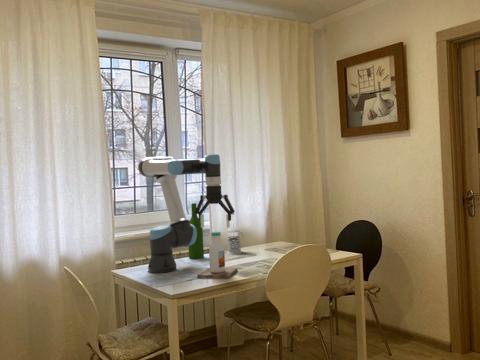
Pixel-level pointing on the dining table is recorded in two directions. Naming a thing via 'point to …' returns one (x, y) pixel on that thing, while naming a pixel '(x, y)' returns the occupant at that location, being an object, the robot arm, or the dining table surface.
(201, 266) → the dining table surface
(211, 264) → the milk bottle
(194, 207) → the wine bottle
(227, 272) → the walnut board
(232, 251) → the french press
